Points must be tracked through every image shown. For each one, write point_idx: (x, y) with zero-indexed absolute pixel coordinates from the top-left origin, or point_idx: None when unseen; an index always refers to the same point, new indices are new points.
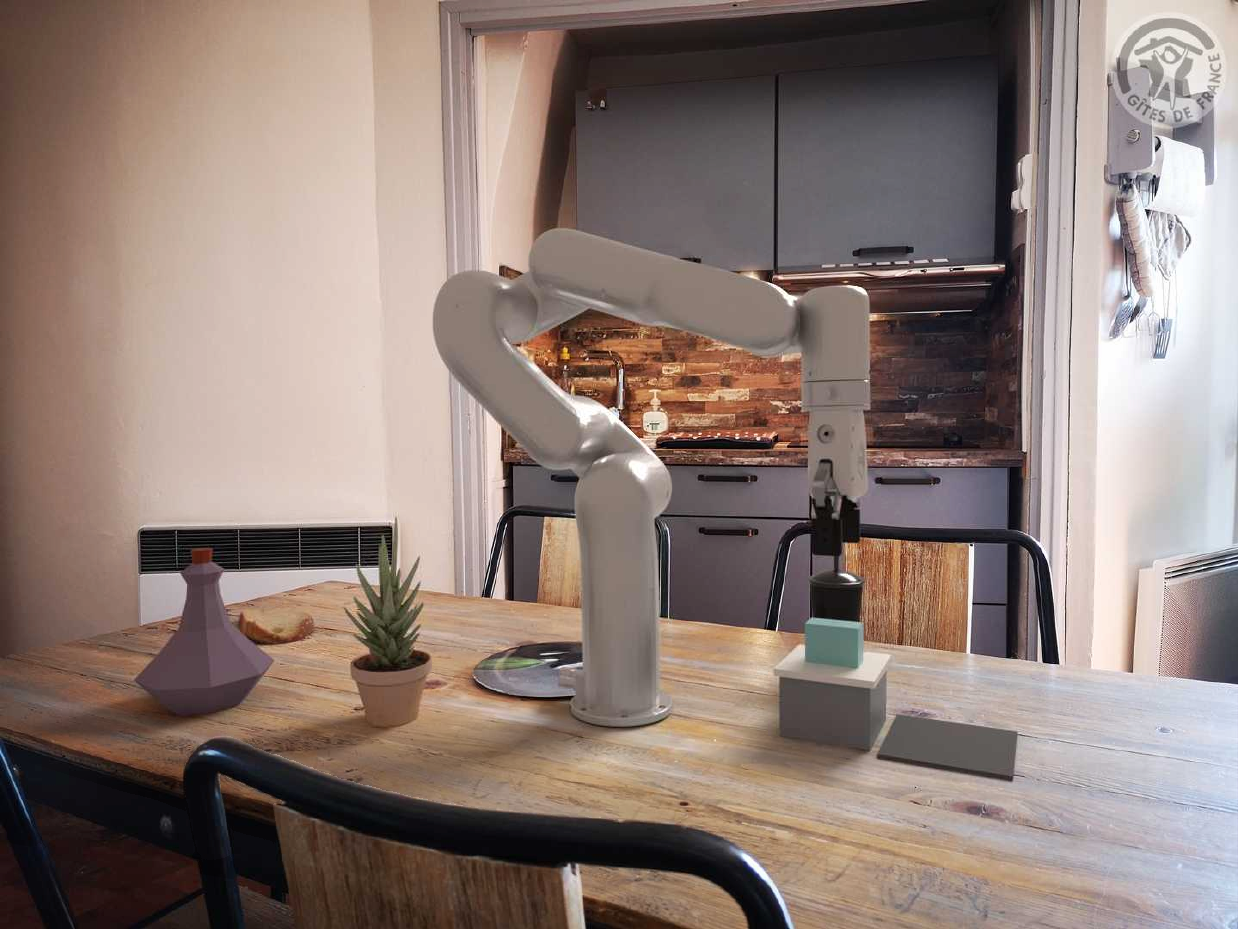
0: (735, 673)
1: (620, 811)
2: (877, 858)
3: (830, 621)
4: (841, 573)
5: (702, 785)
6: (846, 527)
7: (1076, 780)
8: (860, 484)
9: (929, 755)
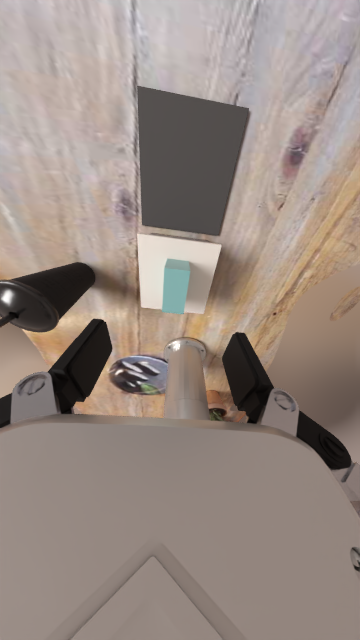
0: (113, 325)
1: (279, 329)
2: (342, 227)
3: (170, 296)
4: (20, 308)
5: (258, 311)
6: (97, 353)
7: (243, 7)
8: (189, 493)
9: (215, 195)
